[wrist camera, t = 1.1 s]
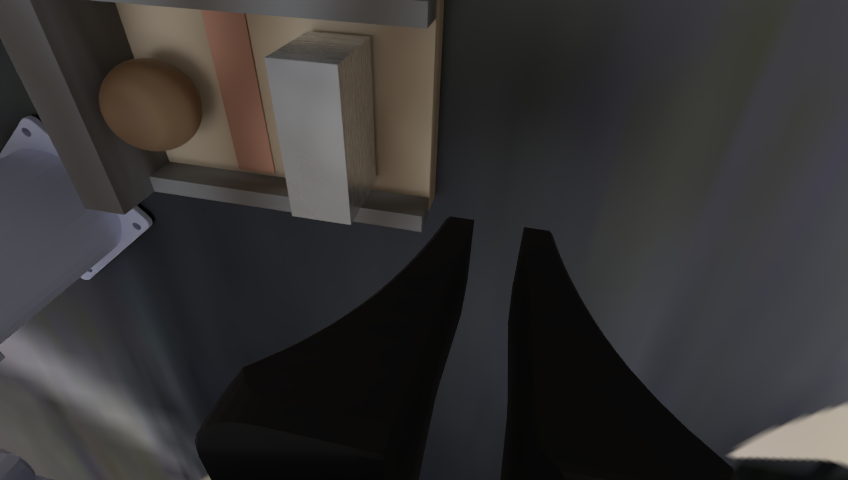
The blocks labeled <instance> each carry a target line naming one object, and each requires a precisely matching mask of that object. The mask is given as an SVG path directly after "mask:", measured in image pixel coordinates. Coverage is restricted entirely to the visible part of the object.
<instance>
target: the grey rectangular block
mask: <svg viewBox="0 0 848 480" xmlns="http://www.w3.org/2000/svg"><path fill="white" fill-rule="evenodd" d="M264 59H265V64H266V70H267V76H268V81H269V87H270V93H271V98H272V104H273V110H274V115H275V121H276V127H277V132H278V138H279V144H280V149H281V155H282V161H283V166H284V172H285V178H286V183H287V189H288V195H289V200H290V206H291V212H292V216H296V217H303V218H309V219H316V220H322V221H329V222H335V223H342V224H348V225H351V224H352V222H353V221H354V219H355V217H356V215H357V214H358V212H359V210H360V209H361V207H362V205H363V204H364V202H365V200H366V198H367V197H368V195H369V193H370V192H371V190H372V188H373V186H374V185H375V183H376V166H375V142H374V118H373V93H372V69H371V45H370V37H367V36H356V35H344V34H333V33H322V32H311V31H307V32H305V33H303V34H302V35H300V36H299V37H297V38H295V39H294V40H292V41H290V42H289V43H287V44H286V45H284V46H282V47H281V48H279V49H277V50H276V51H274V52H273V53H271V54H269V55H268V56H266V57H264Z"/></svg>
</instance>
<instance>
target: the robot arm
mask: <svg viewBox="0 0 848 480" xmlns="http://www.w3.org/2000/svg"><path fill="white" fill-rule="evenodd" d="M152 224H153V223H152V219H151V218H150V217H149V216H148V215H147V214H146V213H145V212H144V211H143V210H142V209H140V208H139V207H138V206H135V207H134V208H133V209H131V210H130V211H129V212H128V213H126V214H125V215H122V214H116V213H110V212H104V211H98V210H91V209H85V207H84V205H83V203H82V201H81V199H80V197H79V195H78V193H77V191H76V189H75V187H74V185H73V183H72V181H71V179H70V177H69V175H68V173H67V171H66V169H65V167H64V165H63V163H62V161H61V159H60V157H59V155H58V153H57V151H56V149H55V147H54V145H53V143H52V141H51V139H50V137H49V135H48V133H47V131H46V129H45V127H44V125H43V123H42V122H41V121H40V120H39V119H37V118H36V117H33V116H27V117H25V118H23V119H22V120H21V121H20V123H19V124H18V126H17V128H16V129H15V131H14V132H13V134H12V136H11V137H10V139H9V140H8V142H7V144H6V145H5V147H4V148H3V150H2V152H1V153H0V344H1V343H2V342H4V341H5V340H6V339H7V338H8V337H9V336H11V335H12V334H13V333H14V332H15V331H17V330H18V329H19V328H20V327H21V326H23V325H24V324H25V323H26V322H27V321H29V320H30V319H31V318H32V317H33V316H35V315H36V314H37V313H38V312H39V311H40V310H42V309H43V308H44V307H45V306H46V305H48V304H49V303H50V302H51V301H52V300H54V299H55V298H56V297H57V296H58V295H60V294H61V293H62V292H63V291H64V290H65V289H67V288H68V287H69V286H70V285H71V284H73V283H74V282H75V281H76V280H77V279H79V278H80V277H81V278H82V279H85V280H89V279H91V278H92V277H93V276H94V275H95V274H96V273H98V272H99V271H100V270H101V269H102V268H103V267H104V266H106V265H107V264H108V263H109V262H110V261H111V260H112V259H114V258H115V257H116V256H117V255H118V254H119V253H121V252H122V251H123V250H124V249H125V248H126V247H127V246H129V245H130V244H131V243H132V242H133V241H134V240H135V239H137V238H138V237H139V236H140V235H141V234H142V233H143V232H145V231H146V230H147V229H148V228H149V227H150V226H152ZM473 226H474V220H470V219H464V218H457V217H449V218H447V219H446V220H445V221H444V223H443V224H442V226H441V227H440V228H439V230H438V231H437V232H436V234H435V235H434V236H433V237H432V239H431V240H430V241H429V242H428V243H427V245H426V246H425V247H424V248H423V249H422V250H421V251H420V252H419V253H418V254H417V255H416V257H415V258H414V259H413V260H412V261H411V262H410V263H409V264H408V265H407V266H406V267H405V268H404V269H403V270H402V271H400V272H399V273H398V274H397V275H396V276H395V277H394V278H393V279H392V280H391V281H390V282H389V283H388V284H386V285H385V286H384V287H383V288H382V289H381V290H379V291H378V292H377V293H376V294H374V295H373V296H372V297H370V298H369V299H368V300H367V301H365V302H364V303H363V304H361V305H360V306H358V307H357V308H355V309H354V310H353V311H351V312H350V313H348V314H347V315H345V316H344V317H342V318H341V319H339V320H338V321H336V322H335V323H333V324H331V325H330V326H328V327H326V328H325V329H323V330H321V331H319V332H317V333H316V334H314V335H312V336H310V337H308V338H307V339H305V340H303V341H301V342H299V343H297V344H295V345H293V346H291V347H289V348H287V349H285V350H283V351H280V352H278V353H276V354H274V355H271V356H269V357H267V358H264V359H262V360H260V361H258V362H255V363H253V364H250V365H248V366H245V367H243V368H242V370H241V371H240V372H239V374H238V375H237V376H236V377H235V379H234V380H233V381H232V382H231V383H230V384H229V386H228V387H227V388H226V390H225V391H224V392H223V394H222V395H221V397H220V398H219V400H218V401H217V403H216V404H215V406H214V408H213V409H212V411H211V412H210V414H209V415H208V417H207V418H206V420H205V422H204V423H203V425H202V426H201V428H200V429H199V431H198V432H197V435H196V439H195V444H196V448H197V451H198V454H199V457H200V459H201V461H202V463H203V465H204V467H205V469H206V471H207V473H208V475H209V476H210V478H211V480H419V475H420V470H421V465H422V460H423V455H424V450H425V445H426V440H427V436H428V431H429V426H430V421H431V416H432V411H433V406H434V402H435V398H436V394H437V390H438V387H439V383H440V380H441V377H442V374H443V370H444V367H445V364H446V361H447V358H448V354H449V351H450V348H451V345H452V342H453V338H454V335H455V332H456V329H457V325H458V322H459V319H460V316H461V311H462V306H463V301H464V295H465V290H466V285H467V279H468V270H469V261H470V252H471V243H472V234H473ZM4 358H5V356H4V355H3V354H2V353H1V352H0V361H2V360H3V359H4ZM0 480H52V479H49V478H45V477H41V476H37V475H35V472H34V470H33V469H32V468H31V466H30V465H29V464H28V463H27V462H26V461H24V460H23V459H22V458H21V457H19V456H17V455H15V454H14V453H12V452H9V451H6V450H4V449H0ZM500 480H738V478H737V476H736V474H735V471H734V469H733V468H732V467H731V466H730V465H728V464H727V463H726V462H725V461H724V460H723V459H722V458H720V457H719V456H718V455H717V454H716V453H715V452H714V451H712V450H711V449H710V448H709V447H708V446H707V445H705V444H704V443H703V442H702V441H701V440H700V439H699V438H697V437H696V436H695V435H694V434H693V433H692V432H691V431H689V430H688V429H687V428H686V427H685V426H684V425H683V424H682V423H681V422H680V421H679V420H678V419H677V418H676V417H675V416H674V415H673V414H672V413H671V412H670V411H669V410H668V409H667V408H666V407H664V406H663V405H662V404H661V403H660V402H659V401H658V400H657V398H656V397H655V396H654V395H653V394H652V393H651V392H650V391H649V390H648V389H647V387H646V386H645V385H644V384H643V383H642V382H641V381H640V380H639V379H638V377H637V376H636V375H635V374H634V373H633V372H632V371H631V370H630V369H629V367H628V366H627V365H626V364H625V362H624V361H623V360H622V358H621V357H620V356H619V355H618V353H617V352H616V351H615V350H614V348H613V347H612V345H611V344H610V343H609V341H608V340H607V339H606V337H605V336H604V334H603V333H602V331H601V330H600V329H599V327H598V326H597V324H596V322H595V321H594V319H593V318H592V316H591V314H590V313H589V311H588V310H587V308H586V306H585V305H584V303H583V301H582V299H581V298H580V296H579V294H578V292H577V290H576V288H575V286H574V284H573V282H572V280H571V279H570V277H569V275H568V272H567V270H566V268H565V266H564V264H563V261H562V259H561V257H560V254H559V252H558V249H557V247H556V244H555V241H554V238H553V235H552V234H551V233H550V231H546V230H539V229H533V228H526V227H524V230H523V236H522V241H521V246H520V251H519V256H518V261H517V266H516V271H515V277H514V282H513V287H512V294H511V303H510V311H509V320H508V406H507V422H506V431H505V441H504V451H503V460H502V470H501V479H500Z"/></svg>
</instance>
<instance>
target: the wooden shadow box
mask: <svg viewBox="0 0 848 480" xmlns="http://www.w3.org/2000/svg"><path fill="white" fill-rule="evenodd" d="M443 16H444V0H0V39H1V41H2V43H3V45H4V47H5V49H6V51H7V53H8V55H9V57H10V59H11V61H12V63H13V65H14V67H15V69H16V71H17V73H18V75H19V77H20V79H21V81H22V83H23V85H24V87H25V89H26V91H27V93H28V95H29V97H30V99H31V101H32V103H33V105H34V107H35V109H36V111H37V113H38V115H39V117H40V119H41V121H42V123H43V125H44V127H45V129H46V131H47V133H48V135H49V137H50V139H51V141H52V143H53V145H54V147H55V149H56V151H57V153H58V155H59V157H60V159H61V161H62V163H63V165H64V167H65V169H66V171H67V173H68V175H69V177H70V179H71V181H72V183H73V185H74V187H75V189H76V191H77V193H78V195H79V197H80V199H81V201H82V203H83V205H84V207H85V209H91V210H98V211H104V212H110V213H116V214H122V215H125V214H126V213H128V212H129V211H130V210H131V209H133V208H134V207H135V206H137V205H138V204H139V203H140V202H142V201H143V200H144V199H146V198H147V197H148V196H149V195H151V194H152V193H153V192H161V193H168V194H175V195H181V196H188V197H194V198H201V199H208V200H214V201H221V202H227V203H234V204H241V205H247V206H254V207H261V208H267V209H274V210H280V211H287V212H291V206H290V200H289V195H288V189H287V183H286V178H285V172H284V166H283V161H282V155H281V149H280V144H279V138H278V132H277V127H276V121H275V115H274V110H273V104H272V98H271V93H270V87H269V81H268V76H267V70H266V64H265V59H264V57H266V56H268V55H269V54H271V53H273V52H274V51H276V50H277V49H279V48H281V47H282V46H284V45H286V44H287V43H289V42H290V41H292V40H294V39H295V38H297V37H299V36H300V35H302V34H303V33H305V32H307V31H311V32H322V33H333V34H344V35H356V36H367V37H370V45H371V69H372V93H373V118H374V142H375V166H376V183H375V185H374V186H373V188H372V190H371V192H370V193H369V195H368V197H367V198H366V200H365V202H364V204H363V205H362V207H361V209H360V210H359V212H358V214H357V215H356V217H355V219H354V221H353V222H360V223H366V224H373V225H379V226H386V227H393V228H399V229H406V230H412V231H419V232H421V231H422V229H423V226H424V223H425V221H426V218H427V215H428V213H429V210H430V207H431V205H432V202H433V199H434V197H435V182H436V161H437V141H438V120H439V99H440V78H441V58H442V37H443Z"/></svg>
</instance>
